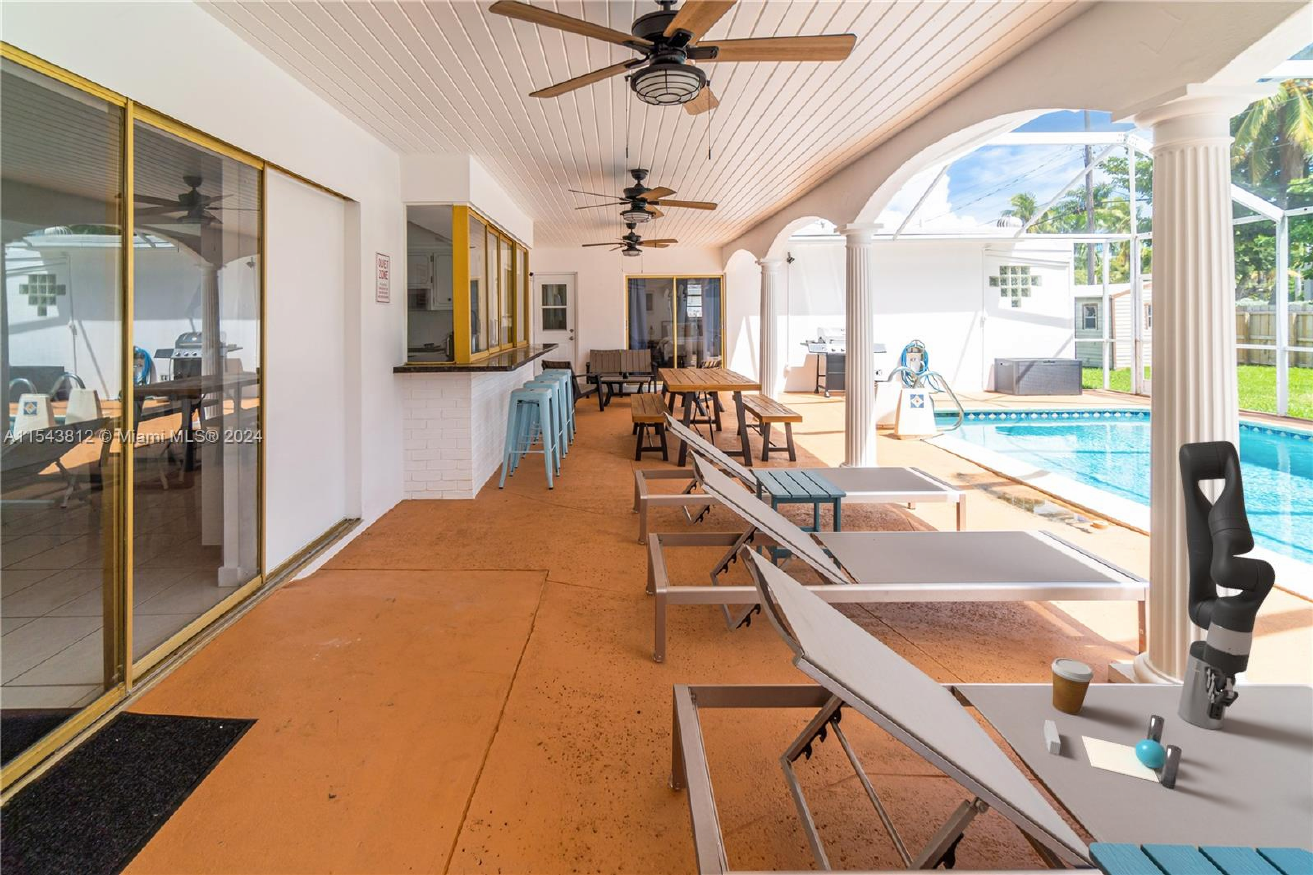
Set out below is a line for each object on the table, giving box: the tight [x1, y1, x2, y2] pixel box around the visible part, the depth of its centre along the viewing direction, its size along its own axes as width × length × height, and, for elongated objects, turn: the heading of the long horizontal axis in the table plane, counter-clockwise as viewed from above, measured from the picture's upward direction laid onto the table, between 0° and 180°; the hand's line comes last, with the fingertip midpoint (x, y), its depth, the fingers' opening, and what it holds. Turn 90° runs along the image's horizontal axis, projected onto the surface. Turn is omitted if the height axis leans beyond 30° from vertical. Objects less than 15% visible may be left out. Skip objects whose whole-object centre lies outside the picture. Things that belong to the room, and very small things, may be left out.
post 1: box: [1146, 714, 1165, 745], centre depth 165 cm, size 3×3×9 cm
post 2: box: [1159, 744, 1183, 790], centre depth 153 cm, size 3×3×9 cm
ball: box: [1134, 739, 1166, 769], centre depth 160 cm, size 6×6×6 cm
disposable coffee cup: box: [1051, 657, 1094, 715], centre depth 183 cm, size 10×10×12 cm
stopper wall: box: [1043, 719, 1062, 756], centre depth 168 cm, size 10×2×3 cm, turn 157°
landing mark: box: [1081, 735, 1160, 784], centre depth 163 cm, size 13×13×1 cm
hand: (1213, 717), depth 154 cm, fingers closed
